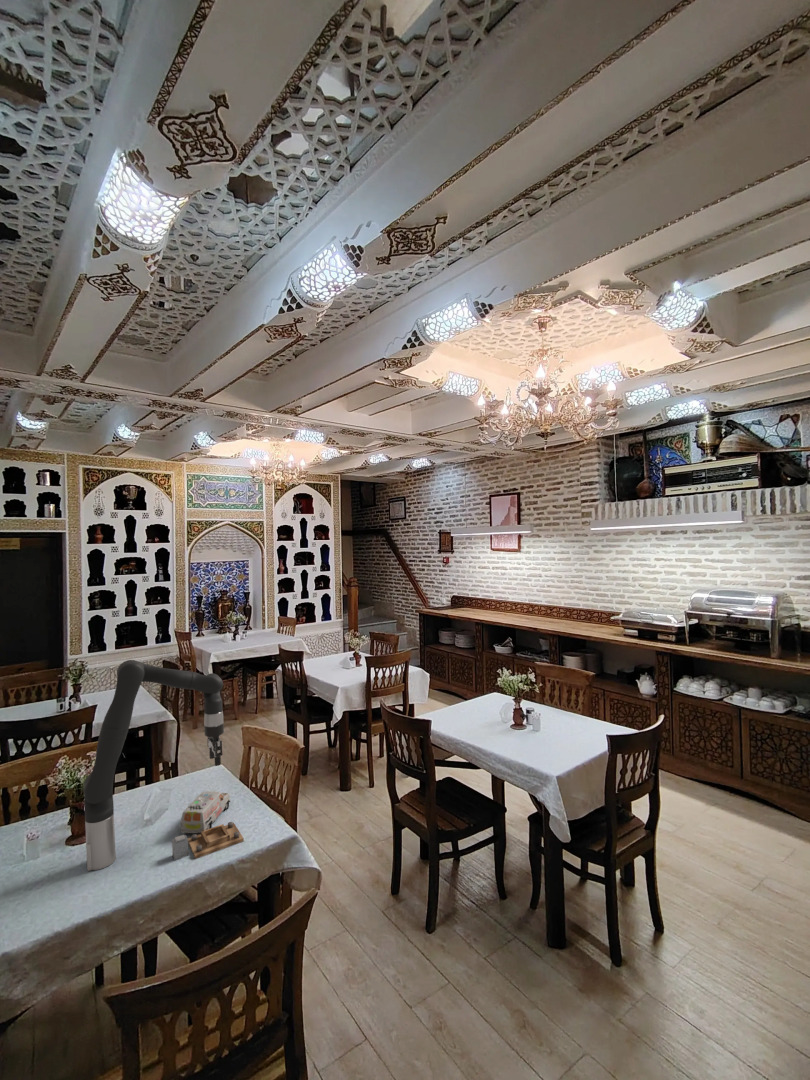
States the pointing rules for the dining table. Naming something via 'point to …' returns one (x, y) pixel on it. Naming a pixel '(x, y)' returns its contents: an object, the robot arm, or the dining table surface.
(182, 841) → the block
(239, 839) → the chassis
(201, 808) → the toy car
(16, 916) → the dining table surface
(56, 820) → the dining table surface
